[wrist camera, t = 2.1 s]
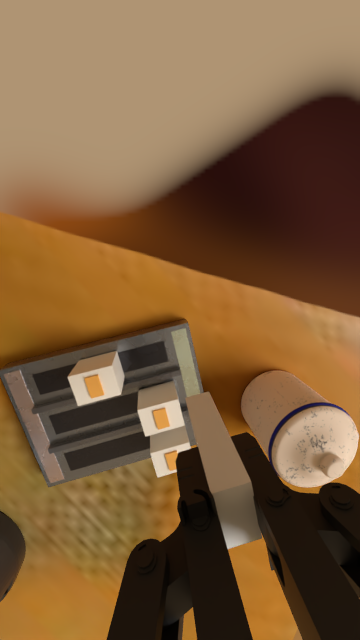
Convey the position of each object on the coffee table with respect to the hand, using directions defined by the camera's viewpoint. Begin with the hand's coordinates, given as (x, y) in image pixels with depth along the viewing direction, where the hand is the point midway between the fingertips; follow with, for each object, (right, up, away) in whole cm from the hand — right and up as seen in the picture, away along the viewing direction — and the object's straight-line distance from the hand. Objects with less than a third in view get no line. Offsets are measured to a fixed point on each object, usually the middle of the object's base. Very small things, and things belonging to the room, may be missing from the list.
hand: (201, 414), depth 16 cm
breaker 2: (-4, -3, +13) cm, 14 cm away
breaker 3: (-3, -8, +14) cm, 16 cm away
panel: (-9, -4, +15) cm, 18 cm away
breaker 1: (-10, +1, +11) cm, 15 cm away
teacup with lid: (+12, -5, +18) cm, 22 cm away
